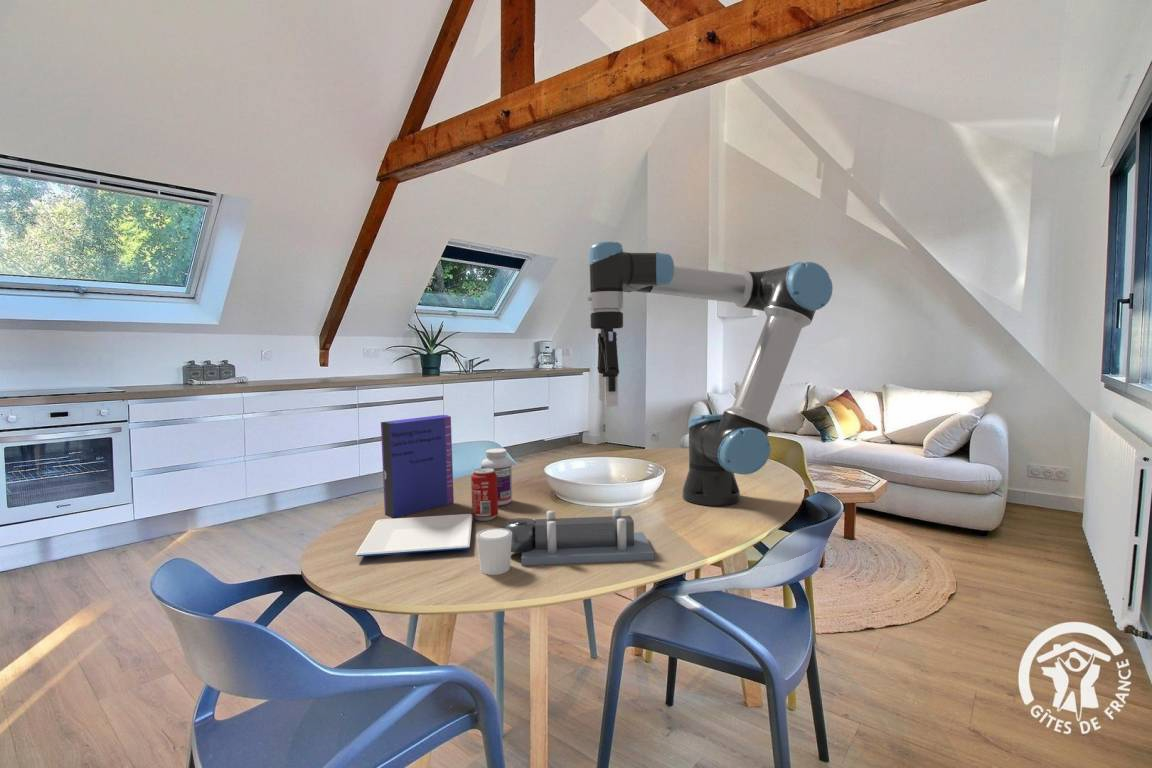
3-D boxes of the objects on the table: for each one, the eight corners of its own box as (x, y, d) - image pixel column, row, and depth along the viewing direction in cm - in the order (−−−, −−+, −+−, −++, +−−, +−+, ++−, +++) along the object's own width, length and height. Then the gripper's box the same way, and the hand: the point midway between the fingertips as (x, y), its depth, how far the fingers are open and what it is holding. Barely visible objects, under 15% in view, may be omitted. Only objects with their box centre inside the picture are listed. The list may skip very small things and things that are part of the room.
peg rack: (643, 538, 122) (642, 505, 122) (654, 560, 110) (653, 522, 110) (523, 543, 120) (522, 509, 120) (521, 565, 109) (520, 527, 108)
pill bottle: (487, 498, 156) (485, 447, 155) (515, 498, 155) (514, 447, 154) (478, 506, 148) (476, 453, 147) (508, 507, 147) (506, 453, 146)
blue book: (444, 500, 155) (441, 414, 154) (453, 503, 152) (450, 415, 150) (384, 514, 143) (380, 421, 141) (393, 518, 140) (389, 423, 138)
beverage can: (500, 514, 142) (499, 467, 141) (494, 522, 135) (493, 473, 134) (476, 513, 142) (474, 467, 141) (469, 521, 136) (467, 473, 135)
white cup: (507, 577, 103) (506, 540, 103) (471, 575, 104) (470, 538, 104) (517, 562, 110) (516, 528, 109) (484, 561, 111) (483, 526, 111)
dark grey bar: (630, 537, 119) (629, 513, 119) (635, 548, 113) (634, 523, 112) (506, 541, 117) (505, 518, 117) (504, 553, 111) (503, 528, 111)
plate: (355, 564, 111) (354, 554, 111) (377, 527, 133) (376, 519, 133) (469, 555, 115) (469, 545, 115) (472, 521, 137) (472, 513, 137)
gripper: (586, 314, 141) (587, 398, 143) (595, 308, 116) (597, 409, 118) (615, 314, 142) (616, 397, 143) (631, 307, 117) (632, 408, 118)
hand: (607, 403), depth 131 cm, fingers open, 13 cm apart
